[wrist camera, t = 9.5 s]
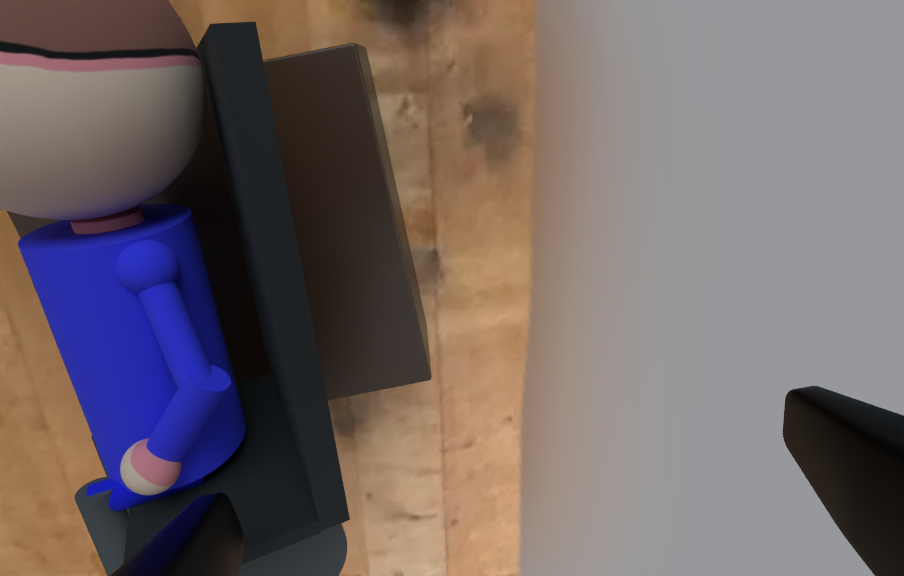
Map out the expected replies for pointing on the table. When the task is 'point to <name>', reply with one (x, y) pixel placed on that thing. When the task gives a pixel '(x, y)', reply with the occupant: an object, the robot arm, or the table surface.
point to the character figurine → (167, 276)
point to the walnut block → (317, 228)
